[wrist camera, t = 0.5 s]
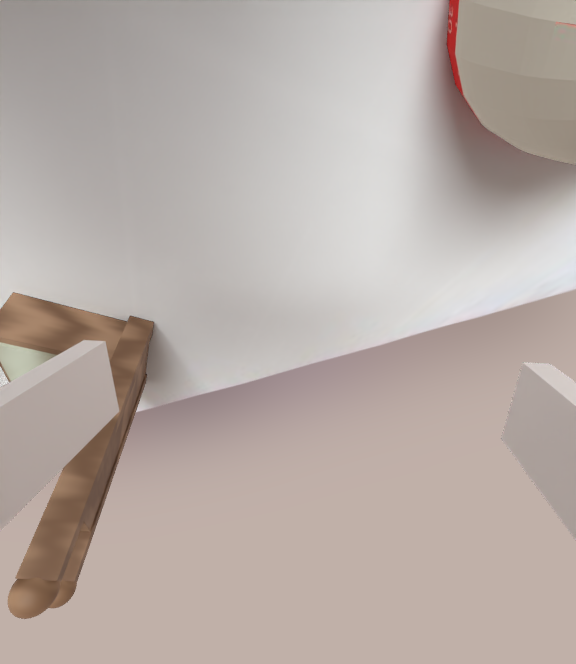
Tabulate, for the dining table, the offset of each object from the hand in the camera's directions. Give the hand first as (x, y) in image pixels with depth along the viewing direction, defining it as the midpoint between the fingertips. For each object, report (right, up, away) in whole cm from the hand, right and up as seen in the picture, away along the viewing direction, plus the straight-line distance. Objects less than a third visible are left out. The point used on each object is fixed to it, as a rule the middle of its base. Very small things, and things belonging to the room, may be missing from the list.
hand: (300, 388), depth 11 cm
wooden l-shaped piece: (-23, +1, +28) cm, 37 cm away
